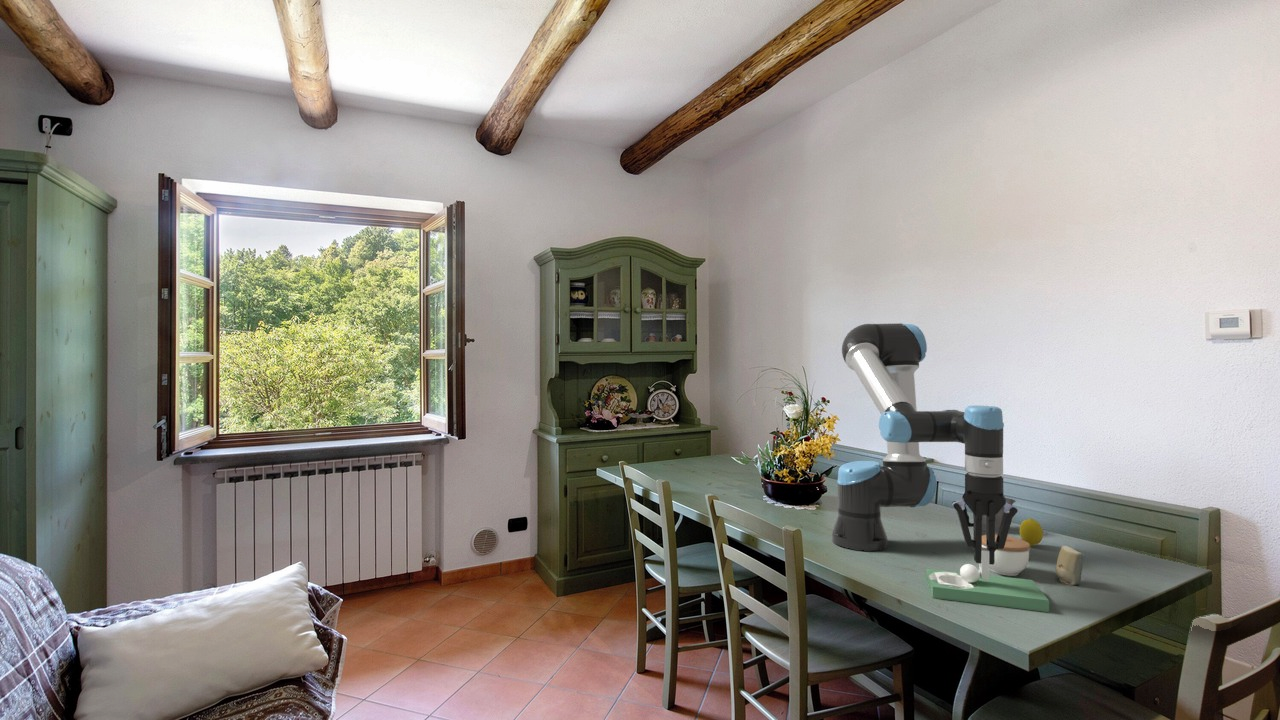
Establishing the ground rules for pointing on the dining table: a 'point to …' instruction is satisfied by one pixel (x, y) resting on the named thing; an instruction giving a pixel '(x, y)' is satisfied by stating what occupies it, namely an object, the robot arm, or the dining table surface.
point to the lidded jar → (1010, 556)
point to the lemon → (1031, 531)
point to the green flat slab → (987, 590)
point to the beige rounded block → (1069, 566)
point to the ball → (970, 573)
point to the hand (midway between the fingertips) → (984, 577)
